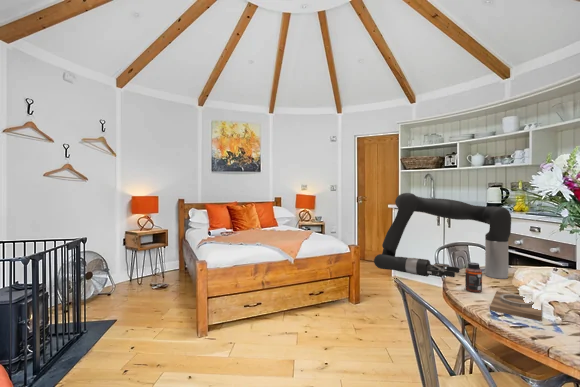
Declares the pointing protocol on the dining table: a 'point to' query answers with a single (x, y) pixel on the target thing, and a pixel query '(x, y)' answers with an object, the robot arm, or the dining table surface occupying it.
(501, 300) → the walnut board
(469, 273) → the supplement bottle
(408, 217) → the robot arm
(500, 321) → the dining table surface
